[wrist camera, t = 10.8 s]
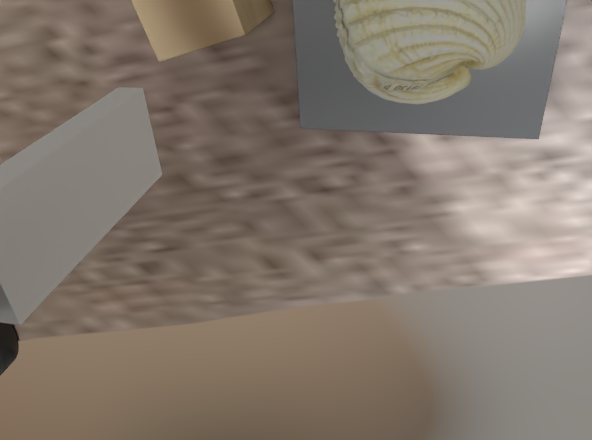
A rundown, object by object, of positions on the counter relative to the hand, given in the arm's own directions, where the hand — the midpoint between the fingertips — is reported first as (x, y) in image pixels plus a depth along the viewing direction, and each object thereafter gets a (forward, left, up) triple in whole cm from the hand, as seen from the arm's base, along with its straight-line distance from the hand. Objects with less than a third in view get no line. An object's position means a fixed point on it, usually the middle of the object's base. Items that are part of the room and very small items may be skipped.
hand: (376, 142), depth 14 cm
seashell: (+1, +1, -15) cm, 15 cm away
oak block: (-11, +2, -16) cm, 20 cm away
